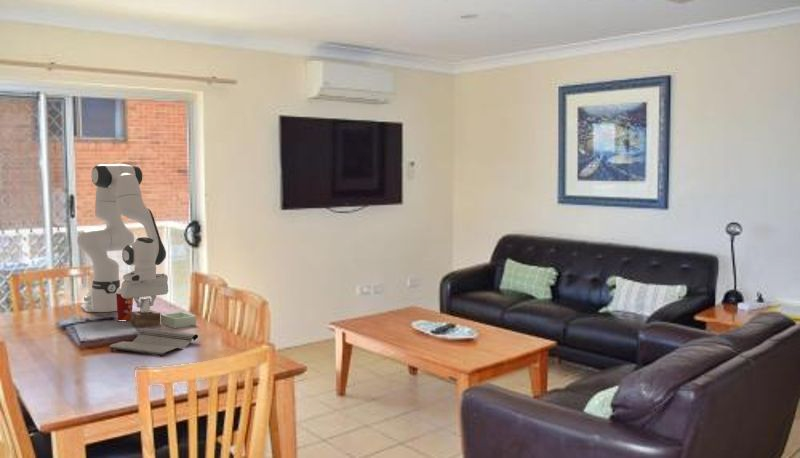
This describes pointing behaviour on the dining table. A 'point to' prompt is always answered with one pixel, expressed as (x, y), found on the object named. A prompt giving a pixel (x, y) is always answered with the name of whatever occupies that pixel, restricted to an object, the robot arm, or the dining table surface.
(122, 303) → the paper cup
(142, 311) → the steel pin
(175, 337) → the mat
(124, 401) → the dining table surface
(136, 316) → the socket block
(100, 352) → the dining table surface
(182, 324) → the tray
